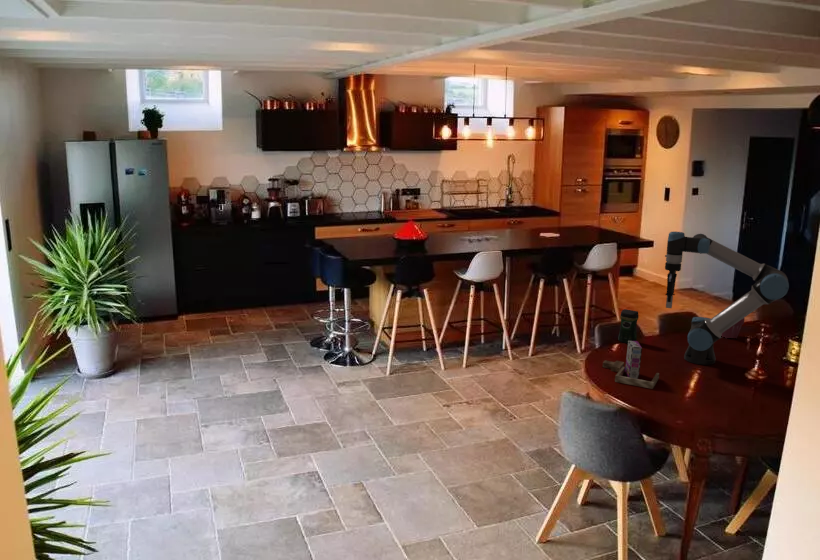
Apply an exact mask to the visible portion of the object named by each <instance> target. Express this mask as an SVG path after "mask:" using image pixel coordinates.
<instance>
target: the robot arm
mask: <svg viewBox="0 0 820 560" xmlns="http://www.w3.org/2000/svg"><path fill="white" fill-rule="evenodd" d="M667 237H668V238H667V243H666V244H667V245H666V254H665V255H664V257H665V261H666V262H665V264H664V265H665V266H664V269H665V270H666V271H668V273H667V278H666V280H667V281H666V283H667V284H666V293H665V296H666V303H665V308H666V309H672V308H673V300H674V296H675V295H676V294H675V286H676V281H677V276H678V273H677V272H680V271H682V262H683V252H684V253H693V254H705V255H708V256H710V257H712V258H714V259H716V260H717V261H720V262H722V263H723V264H726V265H728V266H729V267H731V268H733V269H735V270H737V271H739V272H741V273H743V274H745V275H747V276H749V277H751V278H752V281H754V282H755V283H753V284H752V285H751V290H750V291H748V292H746V293H745V294H744V295H742V296H741V297H740V298H738V299H736V301H733V302H732V303H731V304H730V305H729V306H727V307H726V308H724V309H723V310H721V311H720V312H718V313H717V314H716V315H714V316H713V317H711V318H710V317H702V316H693V317H692V319H691V327H690V330H689V332H688V334H687V343H688V346H687V349H686V350H685V353H684V355H683V359H684V360H685V361H687V362H689V363H692V364H695V365H703V366H704V365H705V366H709V365H714V364H715V363H716V359H717V358H716V355H715V349H714V345H715V343H716V342H717V341H718V340H720V339H722V337H721V336H722V333H723V332H724V331H726V330H727V329H729V328H730V327H732V326H733V325H734V324H736V323H737V322H739V321H740V320H742V319H743V318H746V317H747V316H749V315H750V314H751V313H753V312H754V311H756V310H758V309H759V308H760V307H762V306H763V305H770V304H771V303H773V302H775V301H776V300H780V299H782V298H783V297H784V296H786V295H787V294H788V293H789V292H788V291H789V288H790V283H789V278H788V276H787V275H786V273H785V272H783V271H782V270H780V269H777V268H775V267H773V266H771V265H768V264H767V263H759V262H757V261H756V260H753V259H751V258H749V257H747V256H746V255H743V254H742V253H740V252H737V251H736V250H733V249H731V248H729V247H728V246H726V245H723V244H721V243H719V242H717V241H715V240H714V239H712V238H709V237H708V236H707V235H705V234H704V233H696V234H695V235H693V237H692V236H686V234H685V233H684V232H682V231H670V232H669V233H668V236H667Z"/></svg>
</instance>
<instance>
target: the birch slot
mask: <svg viewBox="0 0 820 560" xmlns="http://www.w3.org/2000/svg"><path fill="white" fill-rule="evenodd" d="M625 367H626V366H624V367H622V368H621V369H620V371H619V372H616V374H615V376H614V382H615V383H621V384H625V385H630V386H636V387H641V388H646V389H650V390H653V389H654V388H655V386H656V385H657V382H658V381H659V380H660V373H659V372H656V373H655V375H654V376H653V378H652V379H651V381H650V380H644V379H640V378H639V379H635V378H629V377H628V376H624V375H625V374H626V372H625Z"/></svg>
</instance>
